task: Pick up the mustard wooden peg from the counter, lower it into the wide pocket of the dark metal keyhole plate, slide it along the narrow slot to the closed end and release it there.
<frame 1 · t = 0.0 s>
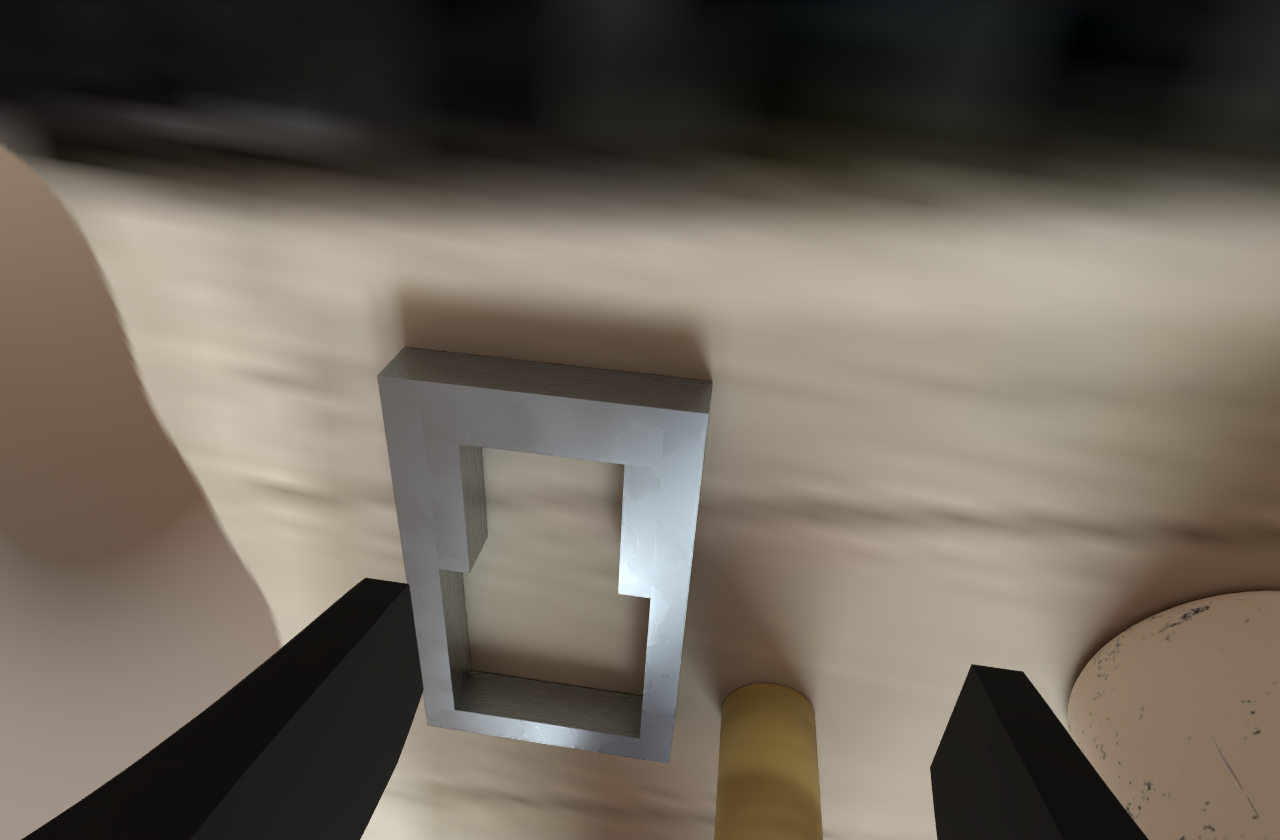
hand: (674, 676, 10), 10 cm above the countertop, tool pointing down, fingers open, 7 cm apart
keyhole plate: (556, 558, 23), on the countertop
peg: (767, 714, 25), on the countertop
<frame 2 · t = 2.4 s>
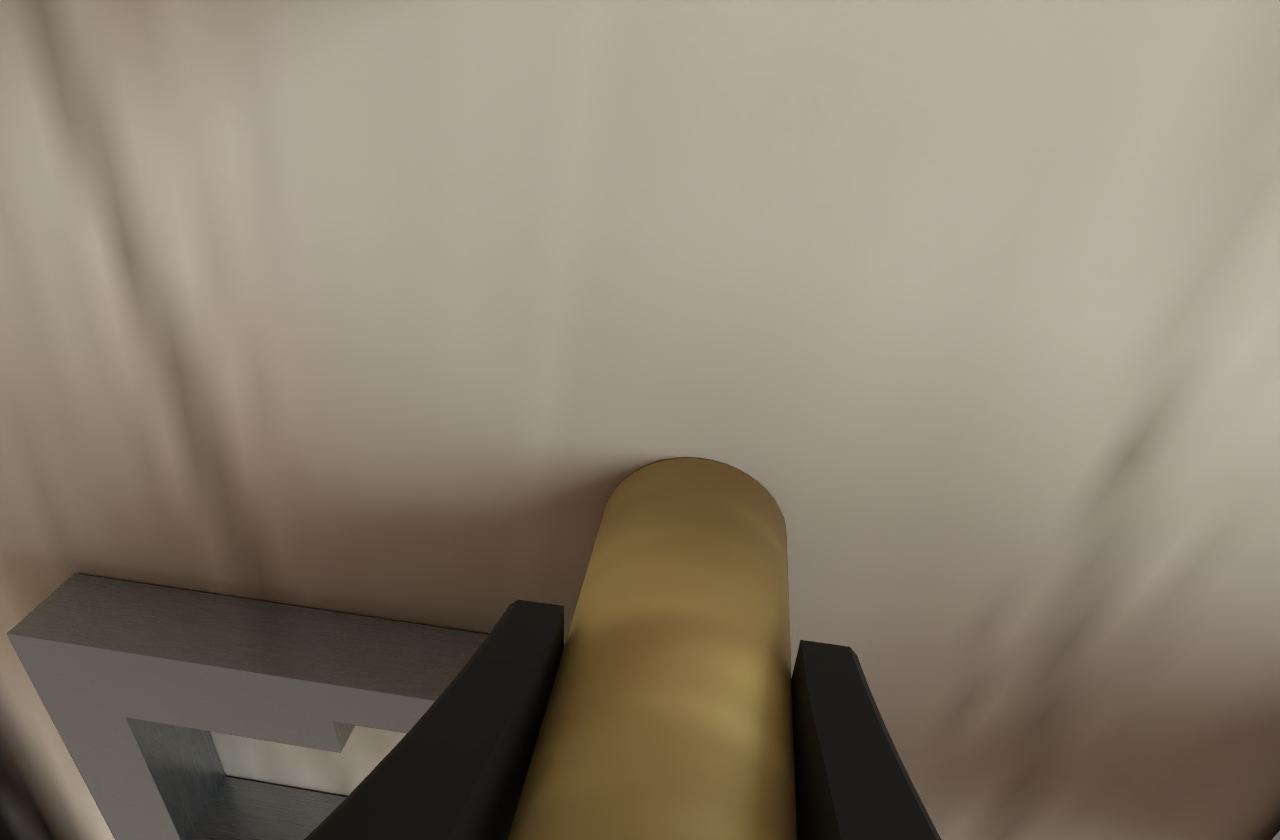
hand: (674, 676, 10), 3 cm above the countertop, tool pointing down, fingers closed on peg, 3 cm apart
keyhole plate: (411, 752, 17), on the countertop
peg: (692, 534, 13), on the countertop, touching gripper
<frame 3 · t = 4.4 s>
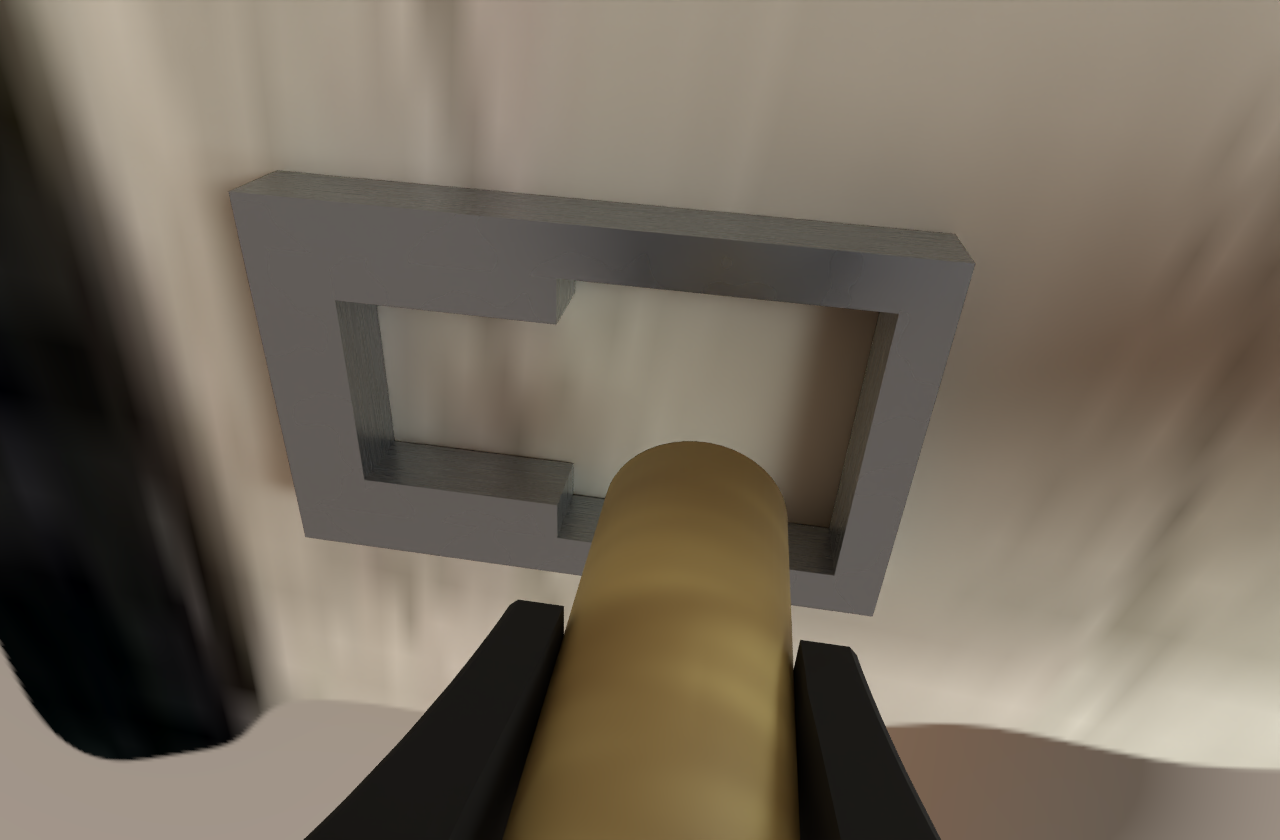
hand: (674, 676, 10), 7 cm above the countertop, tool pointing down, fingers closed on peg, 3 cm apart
keyhole plate: (596, 386, 17), on the countertop
peg: (694, 518, 13), point 4 cm above the countertop, touching gripper
when the fingers open (3 cm above the countertop, at t = 6.7 s): peg stays where it is, resting in keyhole plate.
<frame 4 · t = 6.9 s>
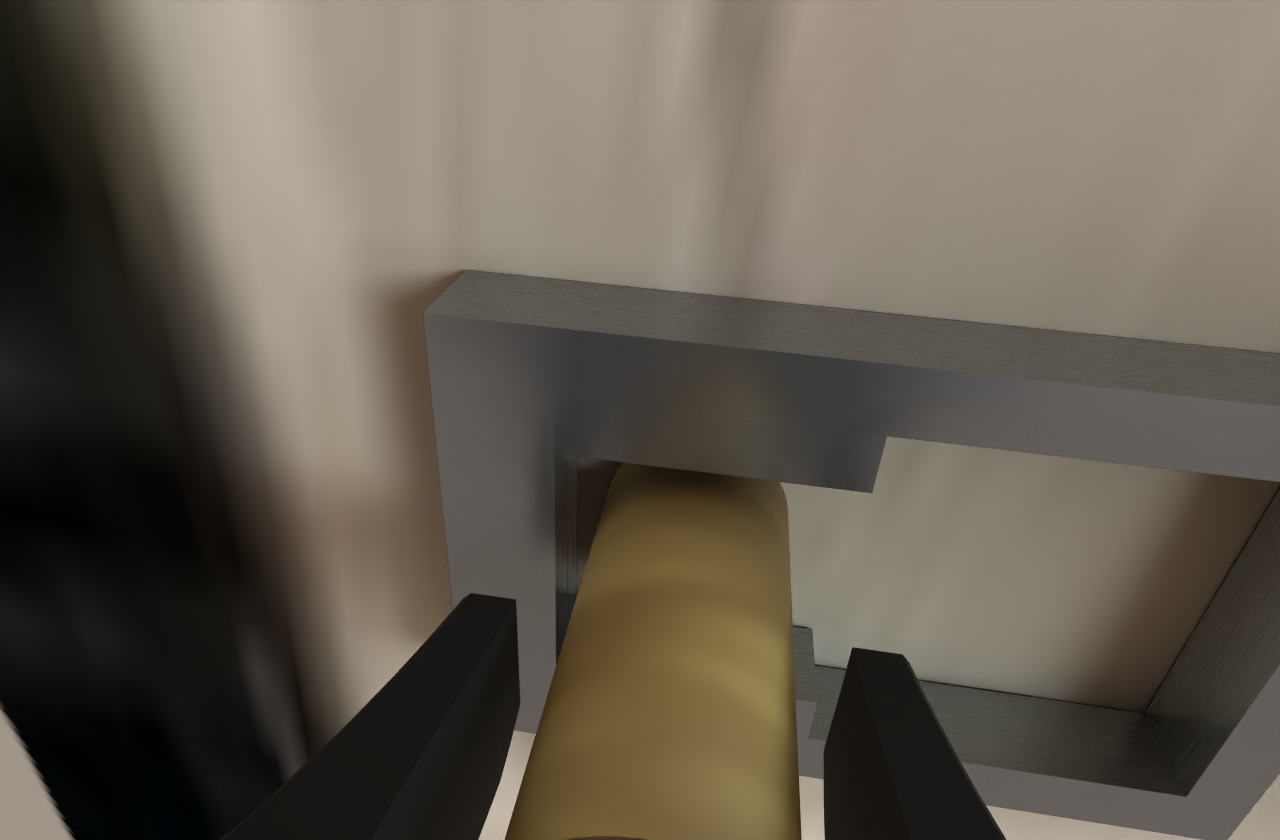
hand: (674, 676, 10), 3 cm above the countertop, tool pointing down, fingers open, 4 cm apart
keyhole plate: (864, 542, 13), on the countertop
peg: (695, 511, 13), resting in keyhole plate
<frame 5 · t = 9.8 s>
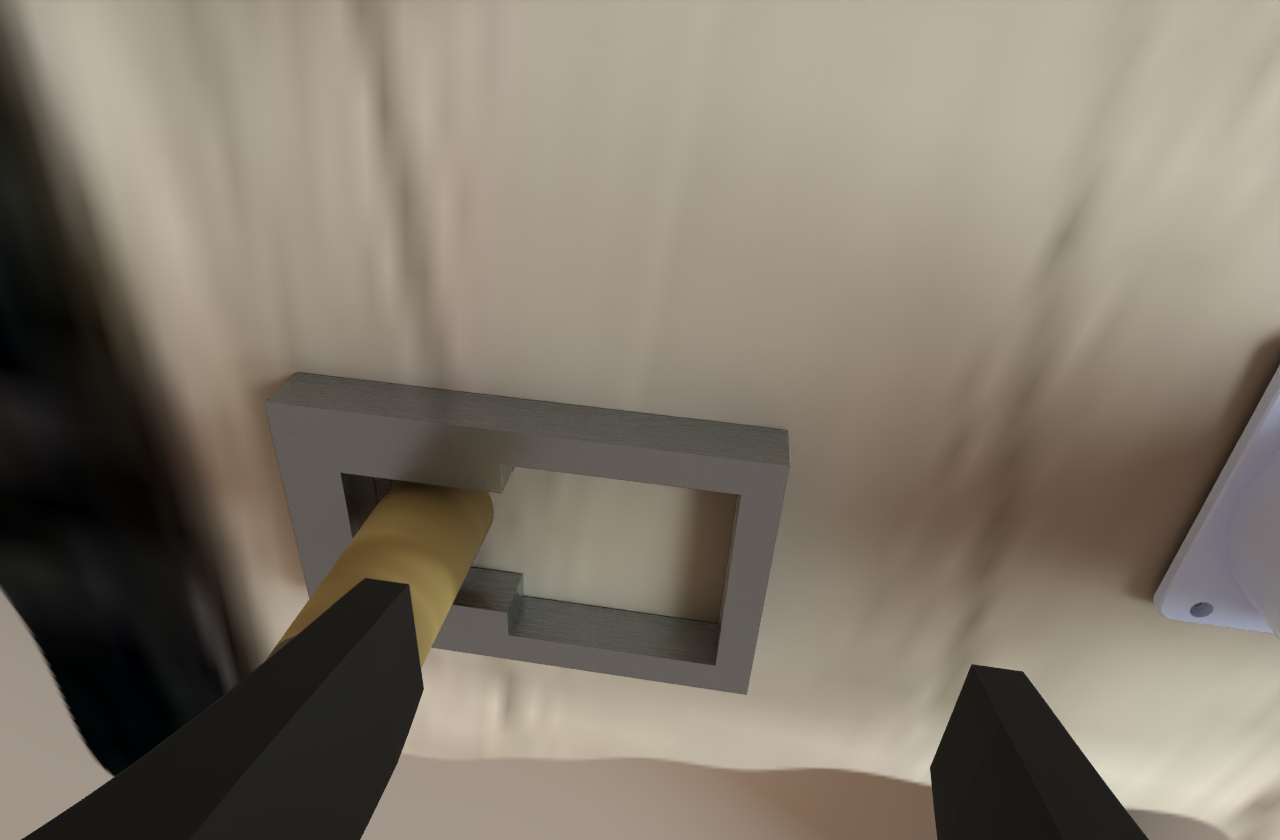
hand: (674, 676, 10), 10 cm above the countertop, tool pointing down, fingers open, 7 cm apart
keyhole plate: (537, 521, 22), on the countertop
peg: (443, 504, 22), resting in keyhole plate
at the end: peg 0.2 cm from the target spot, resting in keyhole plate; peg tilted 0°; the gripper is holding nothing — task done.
